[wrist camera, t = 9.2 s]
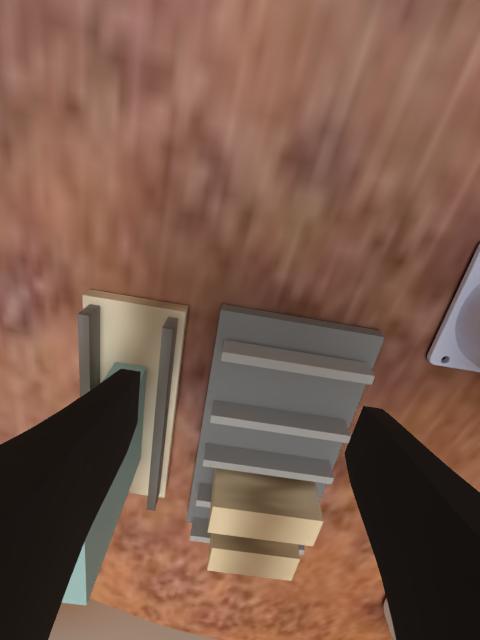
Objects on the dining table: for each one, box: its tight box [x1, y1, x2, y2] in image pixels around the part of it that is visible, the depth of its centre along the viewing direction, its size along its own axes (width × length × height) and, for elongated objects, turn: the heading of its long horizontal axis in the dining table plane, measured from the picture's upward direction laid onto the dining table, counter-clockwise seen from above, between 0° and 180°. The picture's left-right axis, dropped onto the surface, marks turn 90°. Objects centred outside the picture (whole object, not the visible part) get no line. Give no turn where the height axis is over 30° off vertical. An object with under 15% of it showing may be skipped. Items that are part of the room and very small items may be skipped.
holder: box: [78, 289, 188, 511], centre depth 22 cm, size 6×16×2 cm, turn 170°
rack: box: [186, 304, 385, 555], centre depth 23 cm, size 10×19×2 cm, turn 170°
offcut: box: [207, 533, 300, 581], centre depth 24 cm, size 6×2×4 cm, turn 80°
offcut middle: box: [208, 468, 323, 546], centre depth 23 cm, size 7×2×4 cm, turn 80°
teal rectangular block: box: [62, 362, 147, 605], centre depth 18 cm, size 8×2×9 cm, turn 170°
